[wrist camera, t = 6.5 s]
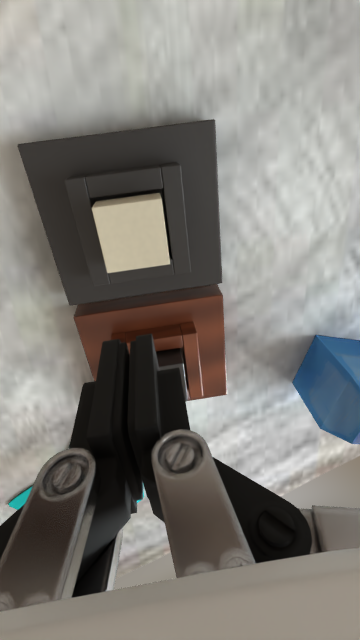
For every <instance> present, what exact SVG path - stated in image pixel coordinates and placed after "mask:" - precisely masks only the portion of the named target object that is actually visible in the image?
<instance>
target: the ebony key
mask: <svg viewBox="0 0 360 640" xmlns="http://www.w3.org/2000/svg"><path fill="white" fill-rule="evenodd" d="M156 356H157V361H158V366H159V371H160V370H166V369H172V368H178V367H179V369H180V374H181V380H182V386H183V392H184V397H185V401H188V395H187V388H186V380H185V373H184V365H183V359H182V354H181V349H180V348H177V349H170V350H164V351H157V352H156Z"/></svg>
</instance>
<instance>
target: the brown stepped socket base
mask: <svg viewBox="0 0 360 640" xmlns="http://www.w3.org/2000/svg"><path fill="white" fill-rule="evenodd" d="M74 320H75V323H76V326H77V329H78V332H79V335H80V338H81V341H82V345H83V348H84V351H85V354H86V357H87V360H88V363H89V366H90V369H91V372H92V375H93V378H94V381H96V377H97V371H98V366H99V360H100V354H101V348H102V343H103V341H109V340H115V339H120V341H121V343H123V342H126V343H127V346H128V350H129V354H130V342H131V341H135V340H136V336H140V335H146V334H152V336H153V341H154V346H155V351H156V352H157V351H164V350H170V349H177V348H180V349H181V354H182V359H183V365H184V373H185V380H186V388H187V395H188V401H190V400H196V399H203V398H209V397H215V396H221V395H227V380H226V357H225V334H224V312H223V295H222V293H221V291H220V289H219V287H218V285H217V284H214V285H208V286H201V287H194V288H187V289H180V290H174V291H167V292H160V293H153V294H146V295H140V296H133V297H126V298H119V299H113V300H106V301H99V302H92V303H85V304H79V305H78V306H77V309H76V312H75V315H74Z"/></svg>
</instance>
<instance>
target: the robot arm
mask: <svg viewBox="0 0 360 640" xmlns="http://www.w3.org/2000/svg"><path fill="white" fill-rule="evenodd" d="M143 484H144V487H145V491H146V494H147V497H148V498H149V500H150V504H151V507H152V510H153V514H154V515H156V516H157V517H158V518H159V519H161V520H162V521H163V522H164V523H165V526H166V531H167V535H168V540H169V544H170V549H171V554H172V558H173V563H174V568H175V572H176V577H177V578H175V579H170V580H164V581H159V582H154V583H149V584H143V585H138V586H132V587H127V588H123V589H116V590H114V584H115V579H116V573H117V567H118V561H119V555H120V550H121V544H122V538H123V529H122V528H123V526H124V525H125V524H126V523H127V522H128V520H129V519H130V518H131V514H133V513H137V500H142V499H143ZM0 640H360V508H344V507H328V506H312V509H298V508H296V507H295V506H294V505H292V504H291V503H289V502H288V501H286V500H285V499H283V498H281V497H280V496H278V495H276V494H275V493H273V492H271V491H269V490H268V489H266V488H264V487H263V486H261V485H259V484H258V483H256V482H254V481H252V480H251V479H249V478H247V477H246V476H244V475H242V474H241V473H239V472H237V471H236V470H234V469H232V468H230V467H229V466H227V465H225V464H224V463H222V462H220V461H219V460H217V459H215V458H213V457H212V455H211V453H210V450H209V448H208V445H207V443H206V442H205V440H204V439H203V437H201V436H200V435H199V434H198V433H196V432H193V431H190V426H189V420H188V415H187V409H186V403H185V397H184V392H183V386H182V380H181V374H180V369H179V367H178V368H172V369H166V370H160V371H159V366H158V361H157V356H156V351H155V346H154V341H153V336H152V334H146V335H140V336H136V340H135V341H131V342H130V354H129V350H128V346H127V343H126V342H123V343H121V341H120V339H115V340H109V341H103V343H102V348H101V354H100V360H99V366H98V371H97V377H96V381H94V382H88V383H85V384H84V385H83V387H82V392H81V396H80V401H79V405H78V410H77V414H76V419H75V424H74V428H73V433H72V437H71V442H70V447H69V449H66V450H64V451H61V452H59V453H57V454H56V455H54V456H53V457H52V458H50V459H49V460H48V461H47V462H46V463H45V464H44V465H43V467H42V469H41V470H40V472H39V474H38V476H37V478H36V480H35V482H34V485H33V487H32V489H31V491H30V494H29V496H28V498H27V500H26V503H25V504H24V505H23V506H22V507H21V508H20V509H18V510H17V511H16V512H15V513H14V514H13V515H12V516H11V517H10V518H8V519H7V520H6V521H5V522H4V523H3V524H2V525H1V526H0Z"/></svg>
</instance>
